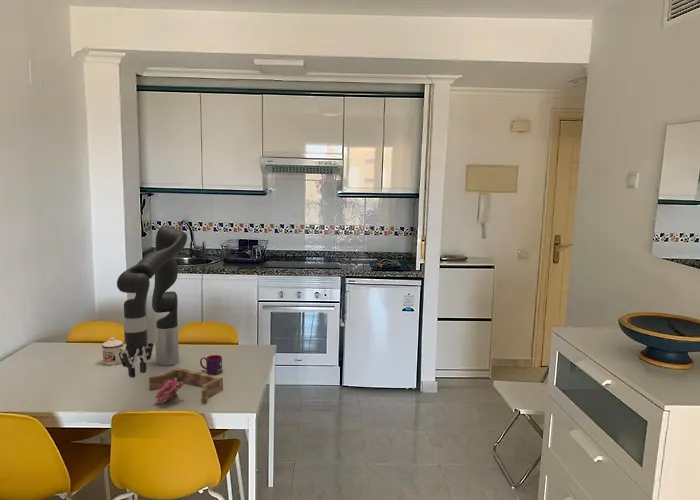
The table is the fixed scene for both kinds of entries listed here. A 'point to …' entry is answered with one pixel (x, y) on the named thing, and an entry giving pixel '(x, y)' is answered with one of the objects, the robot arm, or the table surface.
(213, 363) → the cup
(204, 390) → the wooden slat frame
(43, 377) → the table surface
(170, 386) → the flower
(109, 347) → the teacup with lid
